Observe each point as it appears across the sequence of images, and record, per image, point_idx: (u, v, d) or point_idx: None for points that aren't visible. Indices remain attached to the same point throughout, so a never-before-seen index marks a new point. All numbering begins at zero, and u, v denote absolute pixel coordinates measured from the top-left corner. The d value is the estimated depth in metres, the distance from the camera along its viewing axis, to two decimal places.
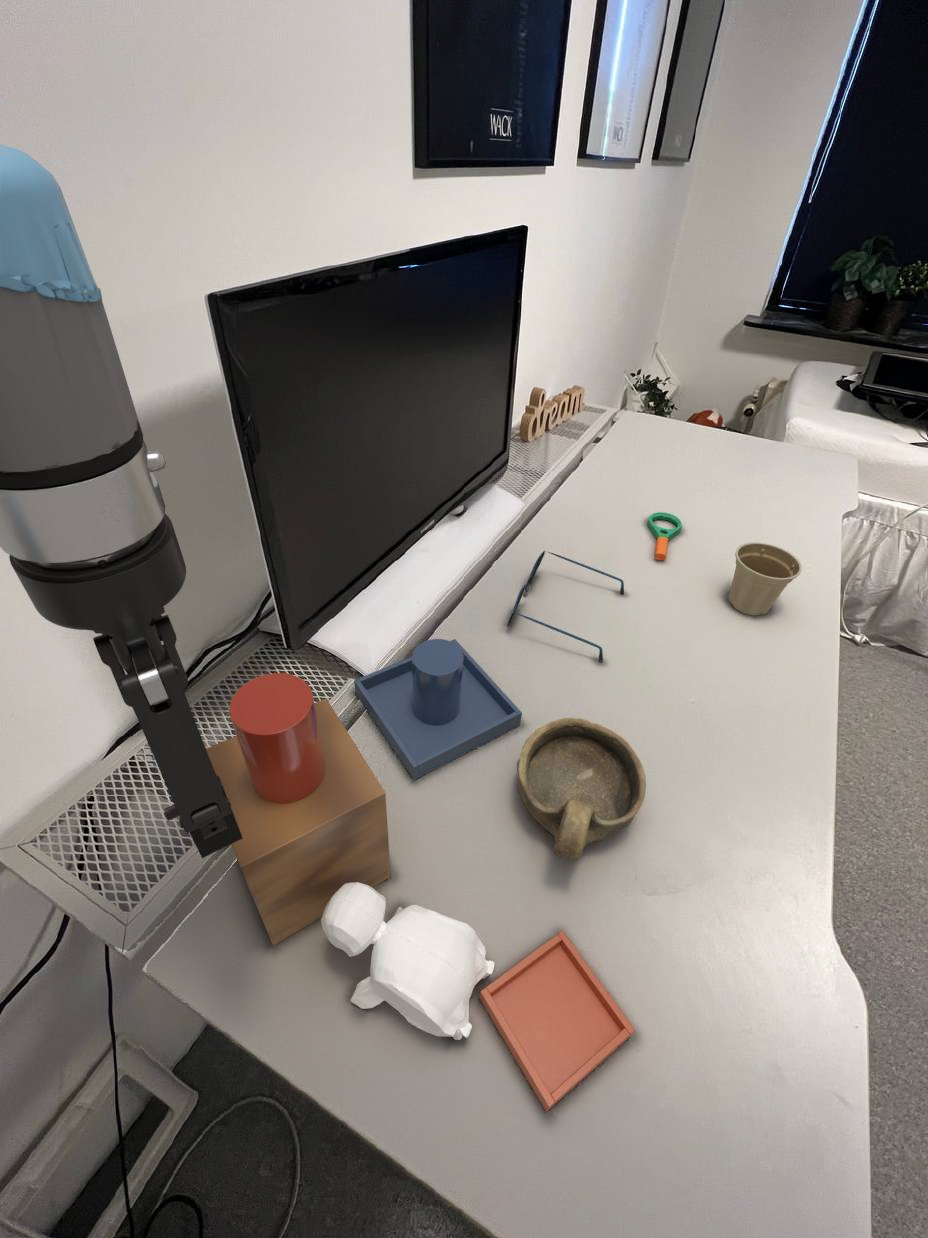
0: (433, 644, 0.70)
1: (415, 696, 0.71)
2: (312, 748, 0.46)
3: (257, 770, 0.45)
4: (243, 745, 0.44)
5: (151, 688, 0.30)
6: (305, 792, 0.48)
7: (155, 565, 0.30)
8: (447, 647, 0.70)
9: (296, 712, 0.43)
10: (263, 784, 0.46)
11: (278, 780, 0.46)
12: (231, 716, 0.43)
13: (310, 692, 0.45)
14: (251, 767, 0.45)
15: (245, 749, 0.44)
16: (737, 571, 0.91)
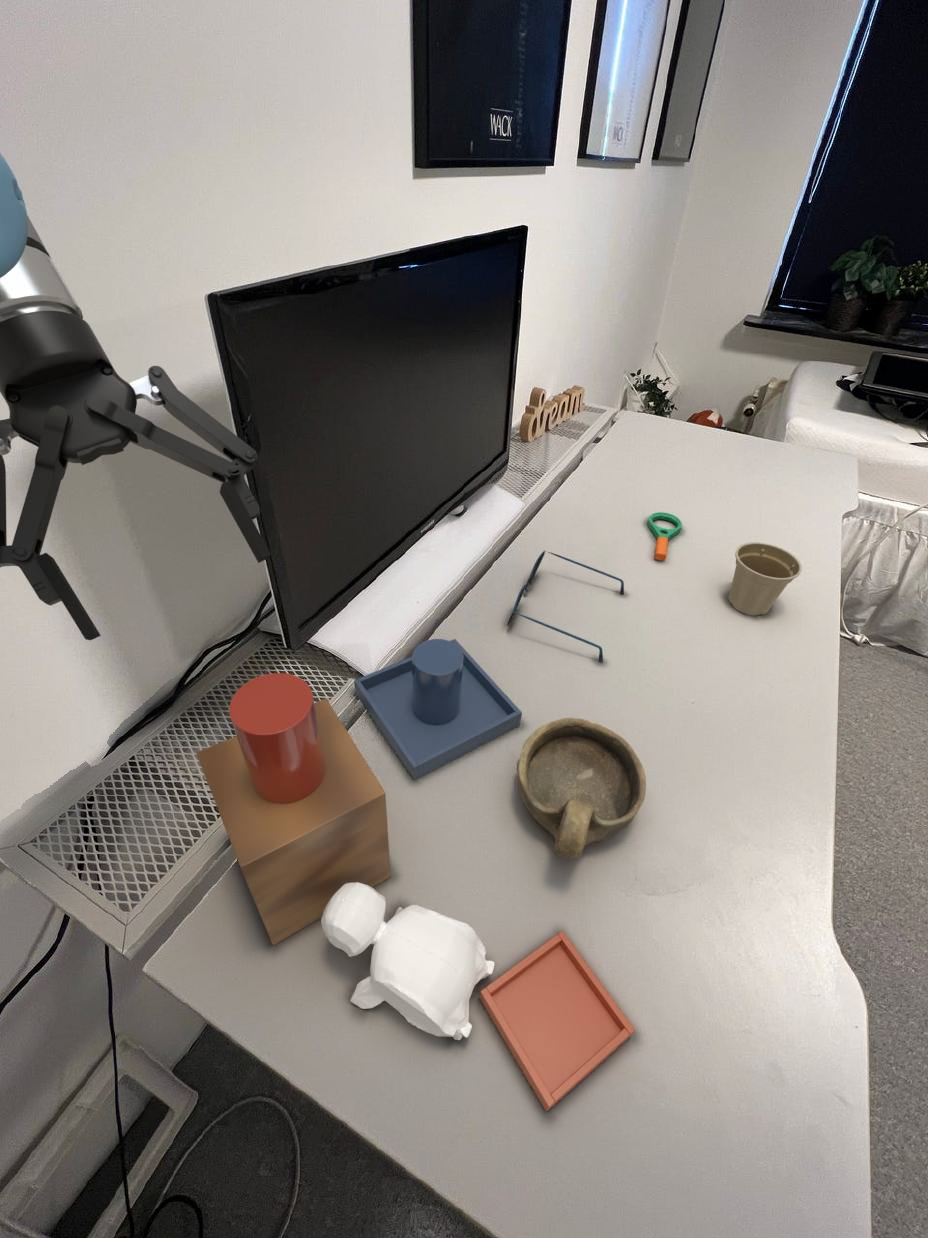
0: (433, 644, 0.70)
1: (415, 696, 0.71)
2: (312, 748, 0.46)
3: (257, 770, 0.45)
4: (243, 745, 0.44)
5: None
6: (305, 792, 0.48)
7: None
8: (447, 647, 0.70)
9: (296, 712, 0.43)
10: (263, 784, 0.46)
11: (278, 780, 0.46)
12: (231, 716, 0.43)
13: (310, 692, 0.45)
14: (251, 767, 0.45)
15: (245, 749, 0.44)
16: (737, 571, 0.91)
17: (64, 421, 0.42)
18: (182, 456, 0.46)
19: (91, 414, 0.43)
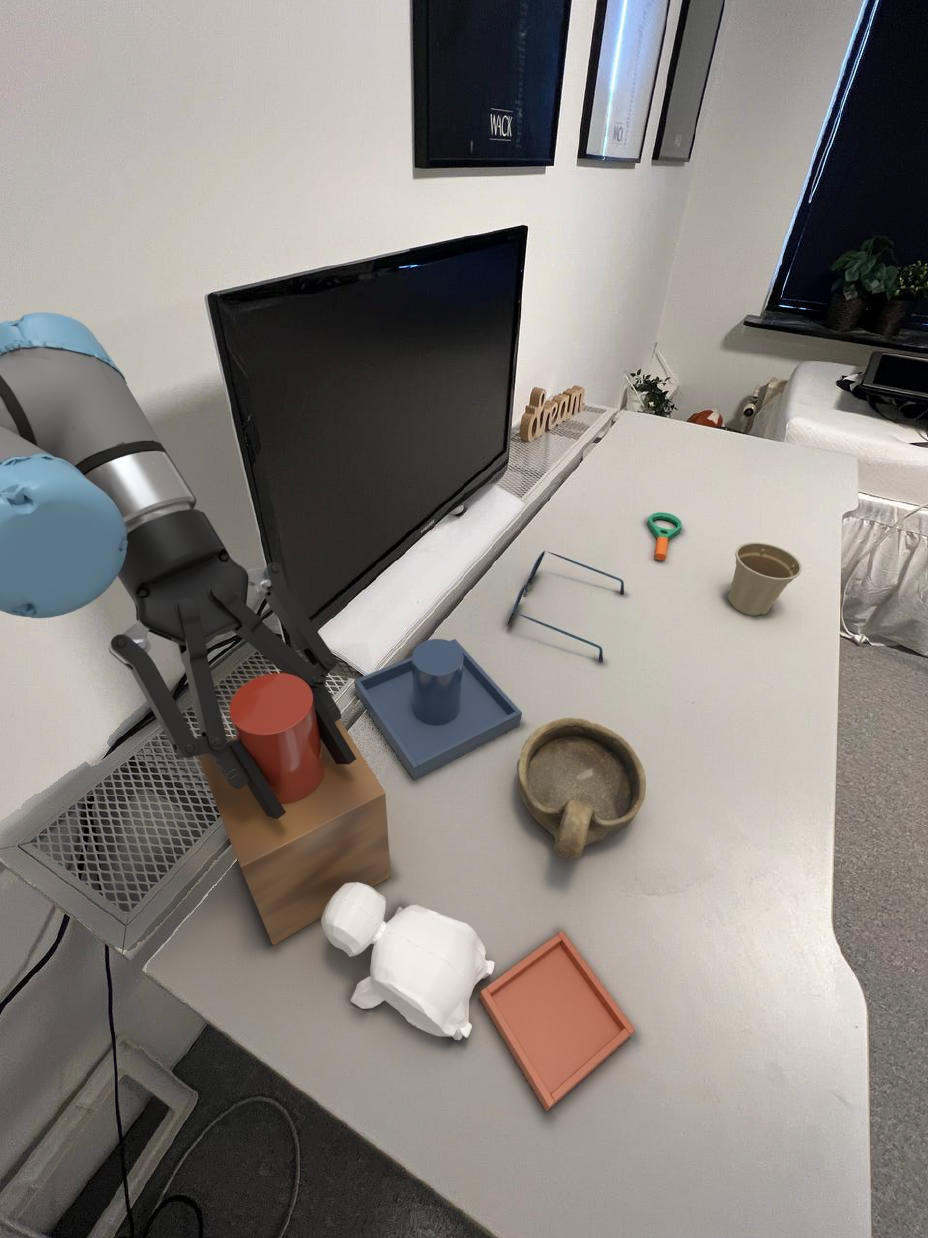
0: (433, 644, 0.70)
1: (415, 696, 0.71)
2: (312, 748, 0.46)
3: None
4: None
5: None
6: (304, 792, 0.48)
7: None
8: (447, 647, 0.70)
9: (296, 712, 0.43)
10: None
11: (278, 780, 0.46)
12: (231, 716, 0.43)
13: (310, 692, 0.45)
14: None
15: None
16: (737, 571, 0.91)
17: (196, 610, 0.43)
18: (274, 655, 0.47)
19: (210, 598, 0.44)
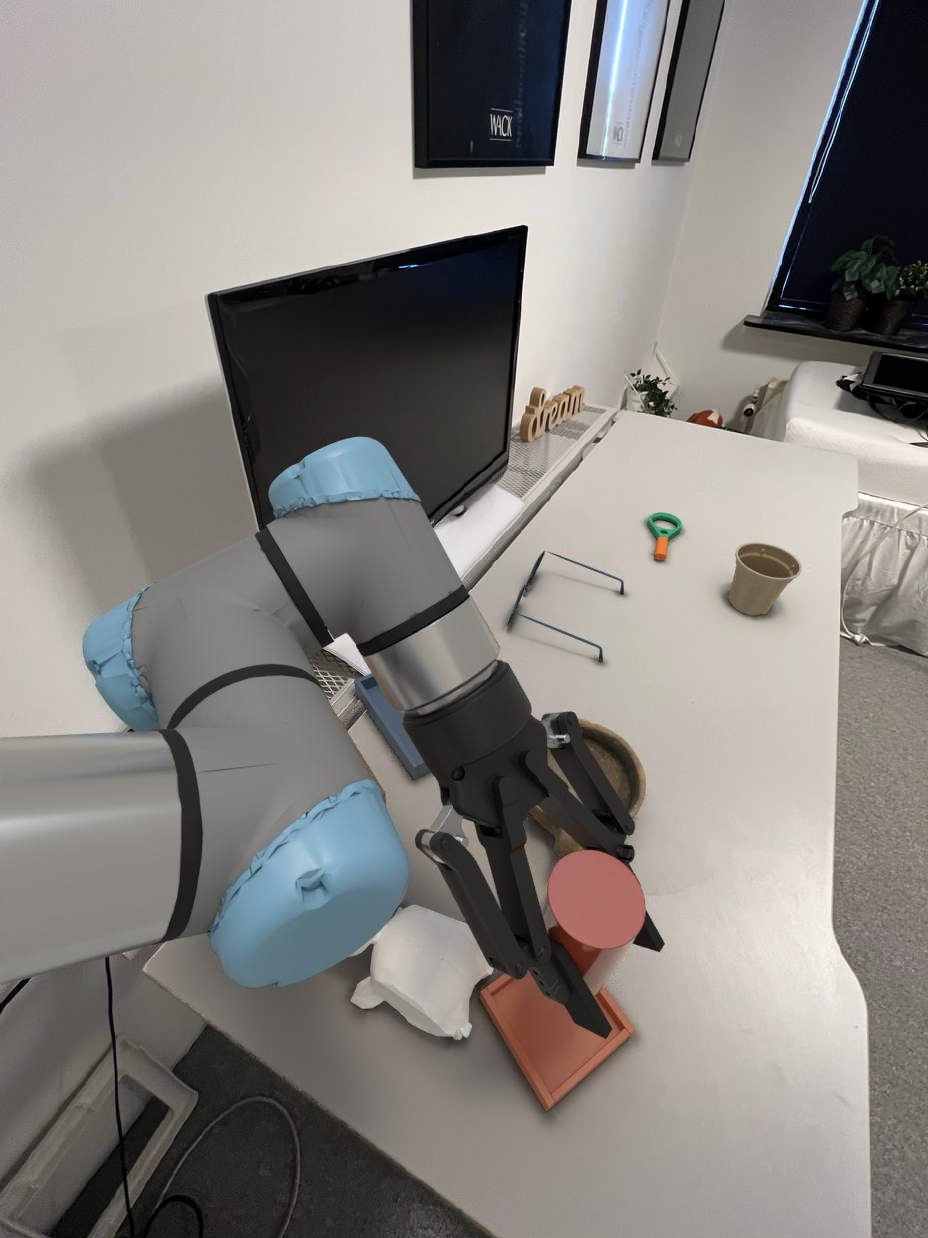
0: None
1: None
2: None
3: None
4: None
5: None
6: (605, 985, 0.40)
7: None
8: None
9: (632, 911, 0.36)
10: None
11: (592, 982, 0.38)
12: (558, 920, 0.35)
13: (635, 879, 0.37)
14: None
15: None
16: (737, 571, 0.91)
17: (515, 790, 0.35)
18: (578, 827, 0.39)
19: (519, 769, 0.37)
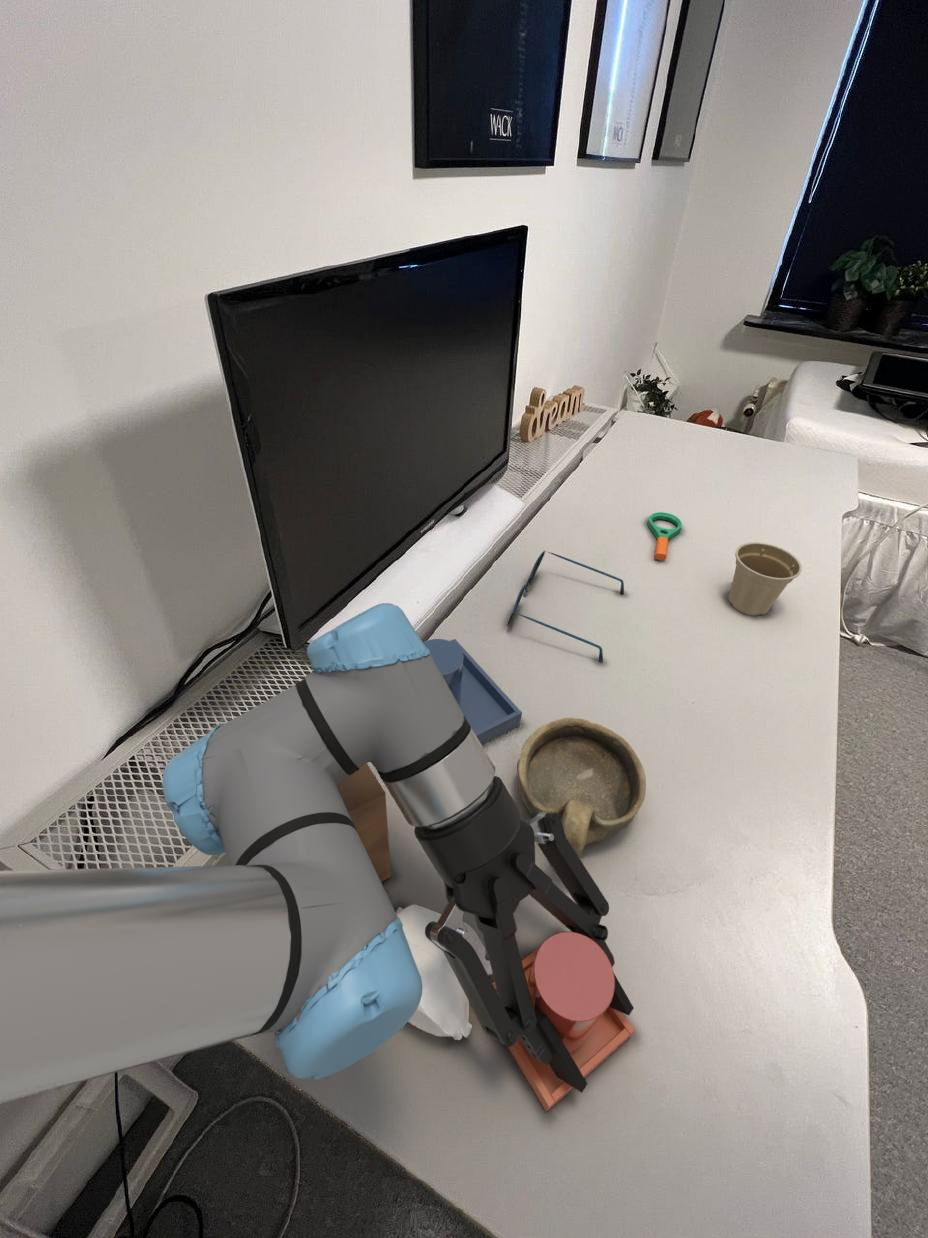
0: (433, 644, 0.70)
1: None
2: None
3: None
4: None
5: None
6: None
7: None
8: (447, 647, 0.70)
9: (603, 988, 0.43)
10: None
11: (571, 1043, 0.45)
12: (542, 996, 0.43)
13: (607, 959, 0.45)
14: None
15: None
16: (737, 571, 0.91)
17: (507, 889, 0.43)
18: (560, 912, 0.46)
19: (511, 868, 0.44)
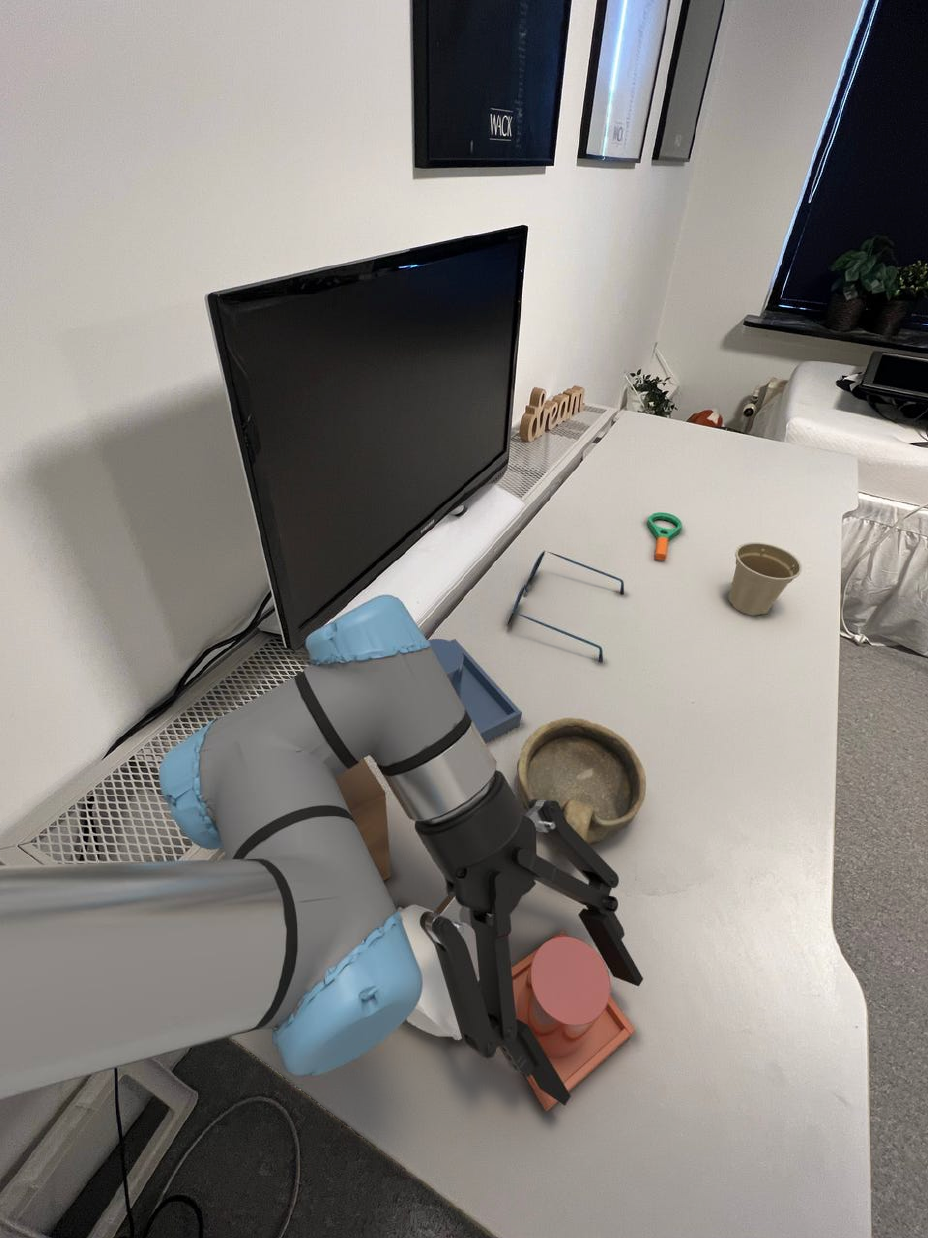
0: (433, 644, 0.70)
1: None
2: None
3: (550, 1040, 0.45)
4: (545, 1024, 0.44)
5: None
6: None
7: None
8: (447, 647, 0.70)
9: (599, 992, 0.44)
10: (548, 1047, 0.46)
11: (568, 1047, 0.46)
12: (538, 1000, 0.43)
13: (603, 963, 0.45)
14: (542, 1035, 0.46)
15: (546, 1027, 0.44)
16: (737, 571, 0.91)
17: (507, 886, 0.42)
18: (569, 893, 0.47)
19: (513, 865, 0.44)
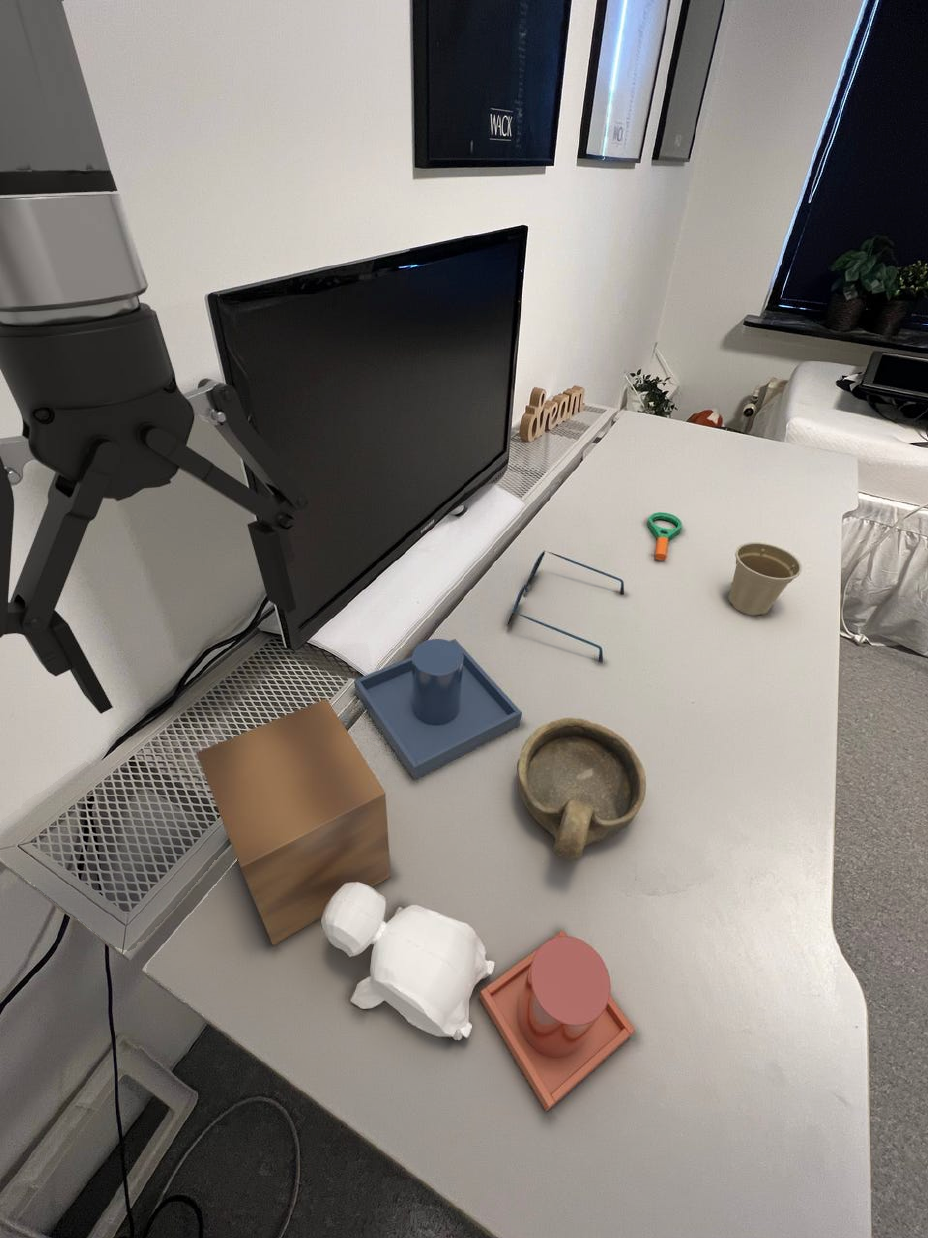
0: (433, 644, 0.70)
1: (415, 696, 0.71)
2: None
3: (550, 1040, 0.45)
4: (545, 1024, 0.44)
5: None
6: None
7: None
8: (447, 647, 0.70)
9: (599, 992, 0.44)
10: (548, 1047, 0.46)
11: (568, 1047, 0.46)
12: (538, 1000, 0.43)
13: (603, 963, 0.45)
14: (542, 1035, 0.46)
15: (546, 1027, 0.44)
16: (737, 571, 0.91)
17: (116, 464, 0.31)
18: (232, 499, 0.38)
19: (143, 446, 0.32)
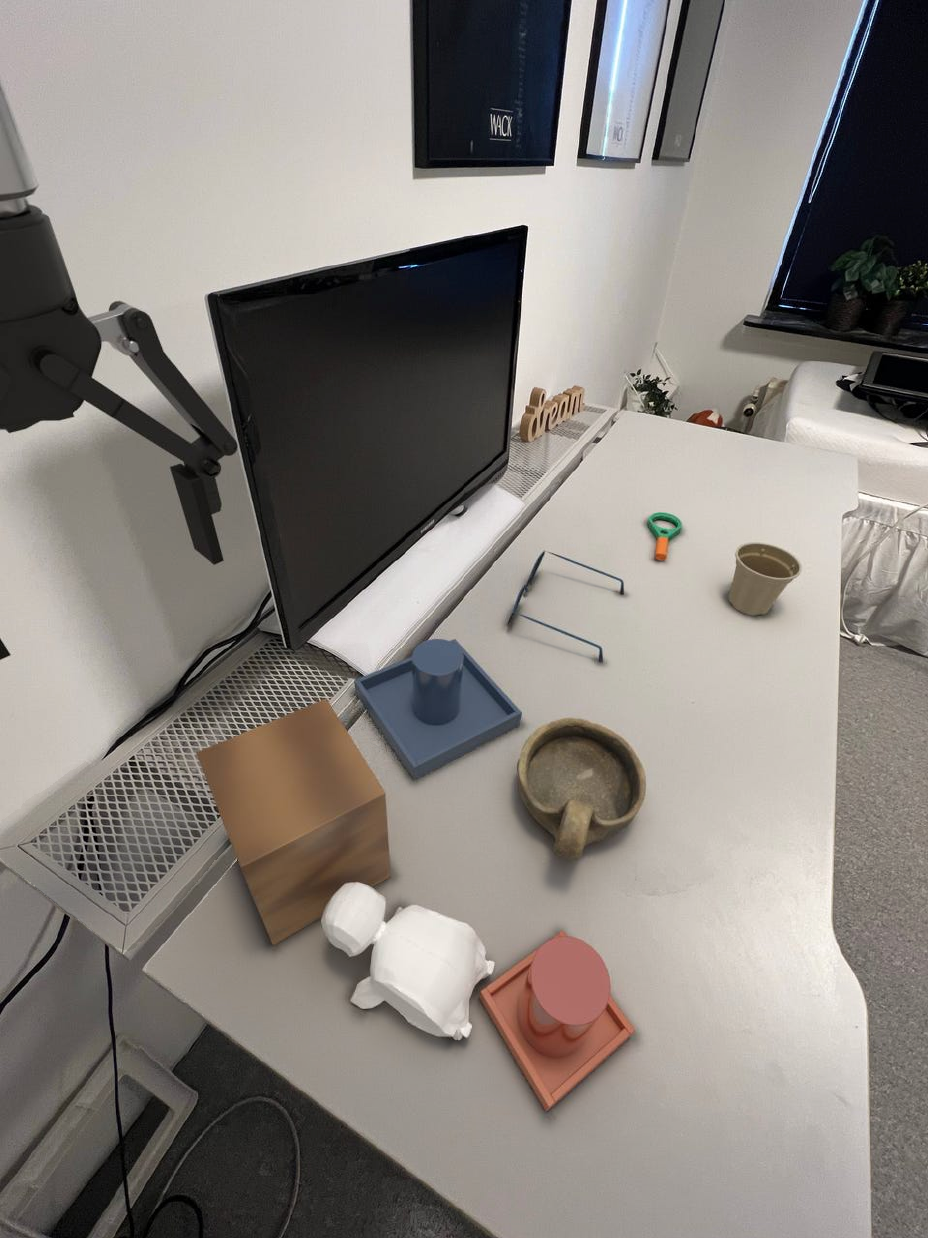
0: (433, 644, 0.70)
1: (415, 696, 0.71)
2: None
3: (550, 1040, 0.45)
4: (545, 1024, 0.44)
5: None
6: None
7: None
8: (447, 647, 0.70)
9: (599, 992, 0.44)
10: (548, 1047, 0.46)
11: (568, 1047, 0.46)
12: (538, 1000, 0.43)
13: (603, 963, 0.45)
14: (542, 1035, 0.46)
15: (546, 1027, 0.44)
16: (737, 571, 0.91)
17: (4, 391, 0.28)
18: (148, 439, 0.35)
19: (38, 374, 0.29)
